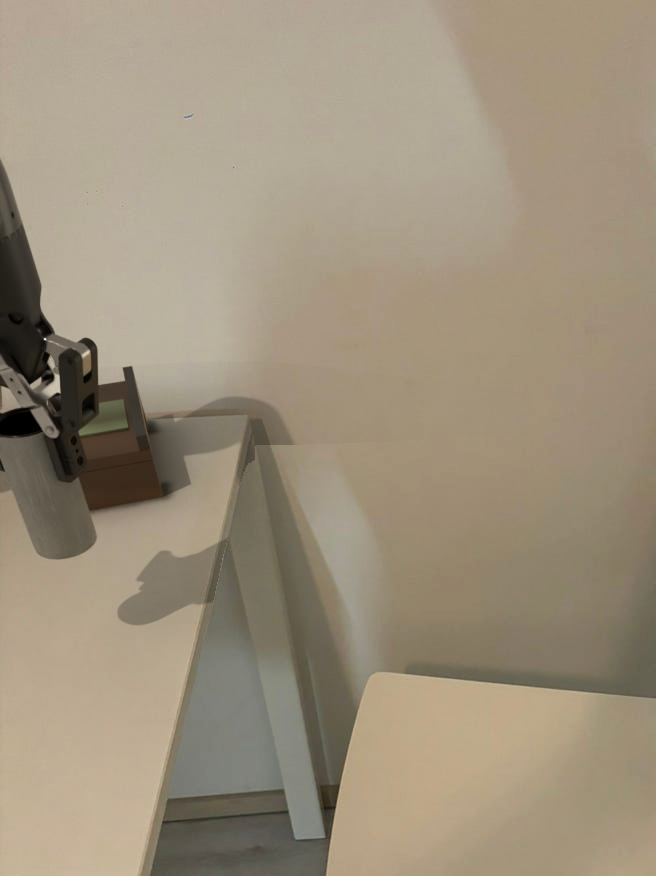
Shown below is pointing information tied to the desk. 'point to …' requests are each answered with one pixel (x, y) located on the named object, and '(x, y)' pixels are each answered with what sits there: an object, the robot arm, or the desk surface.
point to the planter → (43, 490)
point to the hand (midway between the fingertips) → (40, 470)
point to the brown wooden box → (118, 449)
